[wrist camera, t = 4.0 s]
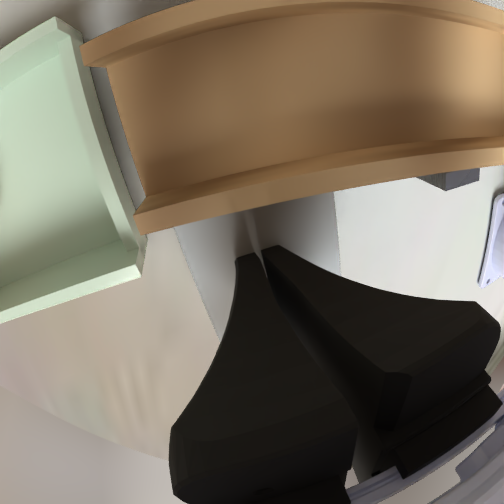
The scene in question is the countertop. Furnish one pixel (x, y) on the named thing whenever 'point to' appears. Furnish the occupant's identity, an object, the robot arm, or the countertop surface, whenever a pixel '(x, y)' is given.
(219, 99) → the lever
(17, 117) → the dish
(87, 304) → the countertop surface
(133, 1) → the countertop surface
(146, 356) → the countertop surface
